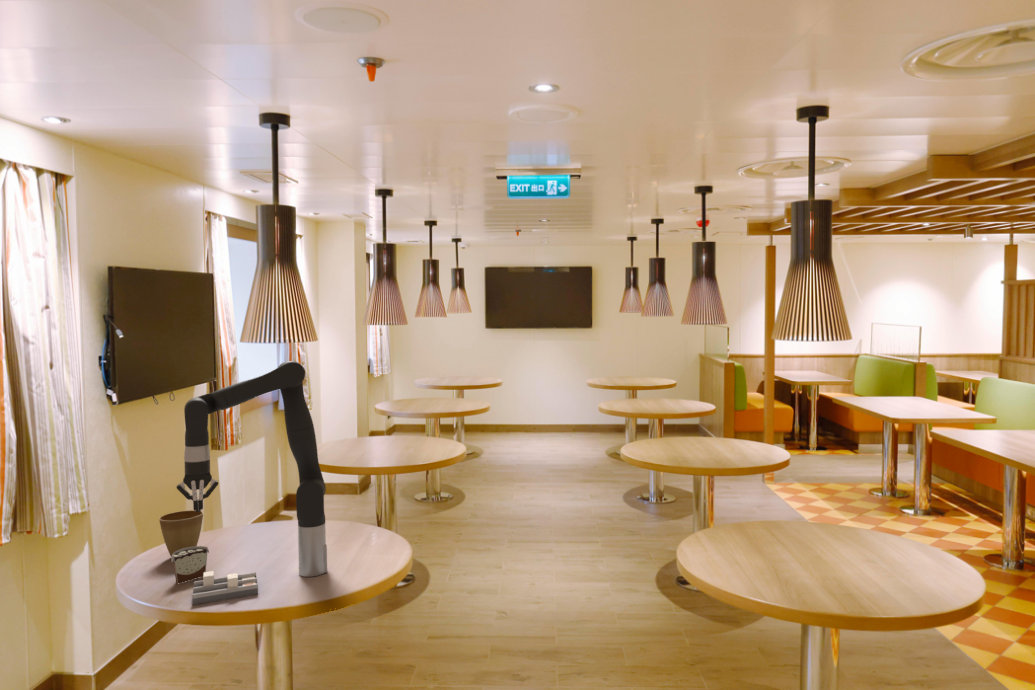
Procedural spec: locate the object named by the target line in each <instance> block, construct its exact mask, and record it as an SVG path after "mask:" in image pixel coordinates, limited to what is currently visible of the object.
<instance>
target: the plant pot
mask: <svg viewBox="0 0 1035 690" xmlns="http://www.w3.org/2000/svg"><path fill="white" fill-rule="evenodd" d="M203 518H204V511H200V512H196V510H194V509H192V510H191V509H190V510H181V511H180V510H179V511H174V512H169V513H166V514H164V515H162V516H160V517H159V518H158V519H159V525H160V529H161V534H162V536H163V540H164V541H163V542H164V543H165V546H166V549H167V551H168V553H169V556H170V557H171V558H172V555H173V553H174V552H175V551H177V550H180V549H183V548H188V547H194V546H197V545H198V543H199V540H200V539H199V538H200V535H201V530H202V525H203ZM171 558H170V559H171Z"/></svg>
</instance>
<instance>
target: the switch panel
mask: <svg viewBox="0 0 1035 690" xmlns="http://www.w3.org/2000/svg"><path fill="white" fill-rule="evenodd" d="M258 584H259V583H258V578H257V572H247V573H241V574H238V587H234V588H228V577H227V576H224V577H223V576H221V577H217V578H215V577H214V585H208V586H204V584H203V580H197V581H193V587H192V594H191V599H192V602H191V603H192V604H196V605H199V604H198V603H202V604H207V603H206V602H208V603H214V602H220V601H224V600H226V601H227V600H231V599H236V598H243V597H248V596H255V595H258V594H259V585H258Z"/></svg>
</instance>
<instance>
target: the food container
mask: <svg viewBox="0 0 1035 690" xmlns="http://www.w3.org/2000/svg"><path fill="white" fill-rule="evenodd" d="M208 553H210V549H209V547H208V546H205V545H204V546H203V545H202V546H201V545H199V546H194V547H188V548H183V549H180V550H177V551H175V552H174V553H173V555H172V558H170V562H171V563H173V570H174V576H175V584H176V583H177V584H178V583H181V584H183V583H182V582H185V581H188V580H191V581H193V580H192V579H195V578H198V577H202V578H203V575H204V572H207V561H208ZM198 579H199V578H198ZM195 580H196V579H195ZM188 582H189V581H188ZM185 583H186V582H185ZM177 584H176V585H177ZM178 585H179V584H178Z"/></svg>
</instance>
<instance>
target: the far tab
mask: <svg viewBox="0 0 1035 690" xmlns="http://www.w3.org/2000/svg"><path fill="white" fill-rule="evenodd" d="M214 571H215V570H211V571H210V570H209V571H206V572H204V575H203V577H202V579H203V584H204V586H208V585H214V579H215V572H214Z"/></svg>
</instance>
